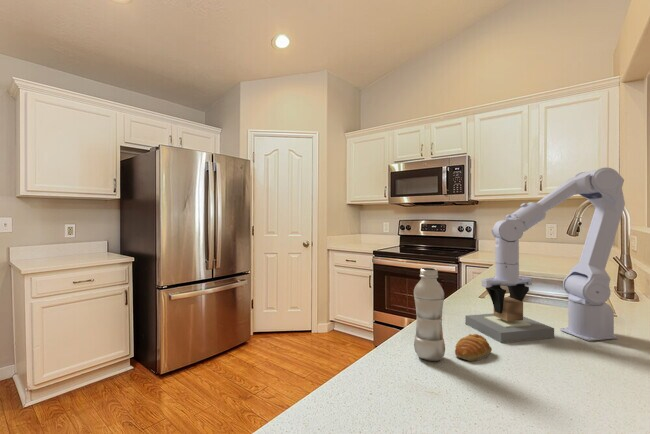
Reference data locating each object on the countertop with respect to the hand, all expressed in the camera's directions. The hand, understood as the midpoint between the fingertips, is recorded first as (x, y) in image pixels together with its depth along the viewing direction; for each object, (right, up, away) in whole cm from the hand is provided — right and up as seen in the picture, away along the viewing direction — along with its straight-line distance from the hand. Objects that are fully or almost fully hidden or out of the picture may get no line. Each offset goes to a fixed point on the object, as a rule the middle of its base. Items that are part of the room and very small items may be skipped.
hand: (507, 311), depth 86 cm
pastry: (-16, -6, -14) cm, 23 cm away
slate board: (0, -5, 0) cm, 5 cm away
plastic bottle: (-27, -6, -17) cm, 32 cm away
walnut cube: (0, -2, 0) cm, 2 cm away
